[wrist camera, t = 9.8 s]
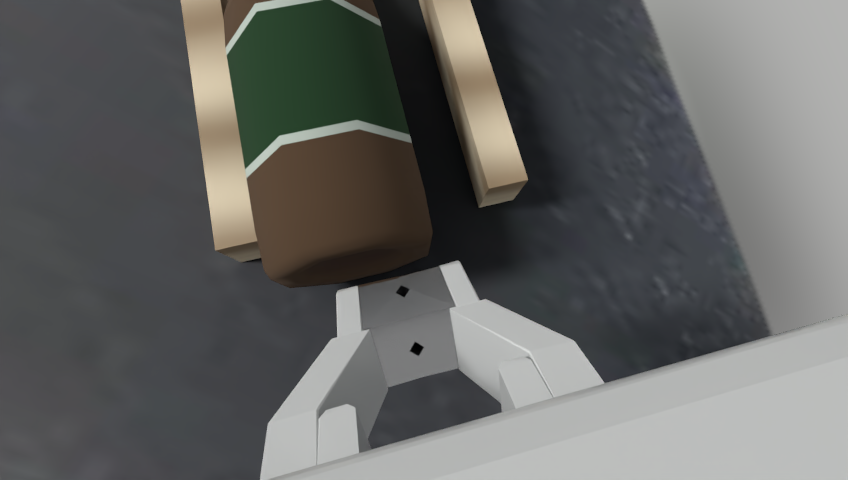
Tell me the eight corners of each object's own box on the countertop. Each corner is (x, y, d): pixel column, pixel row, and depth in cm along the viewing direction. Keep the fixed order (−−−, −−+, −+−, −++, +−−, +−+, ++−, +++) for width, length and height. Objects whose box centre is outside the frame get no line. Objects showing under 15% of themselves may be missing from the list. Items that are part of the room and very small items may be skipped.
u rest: (513, 199, 23) (528, 179, 20) (241, 262, 22) (215, 250, 19) (406, -142, 29) (406, -197, 26) (185, -109, 27) (158, -162, 24)
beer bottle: (474, 228, 17) (352, -199, 22) (271, 254, 13) (184, -262, 18) (404, 273, 23) (324, -62, 29) (257, 298, 20) (196, -89, 25)
